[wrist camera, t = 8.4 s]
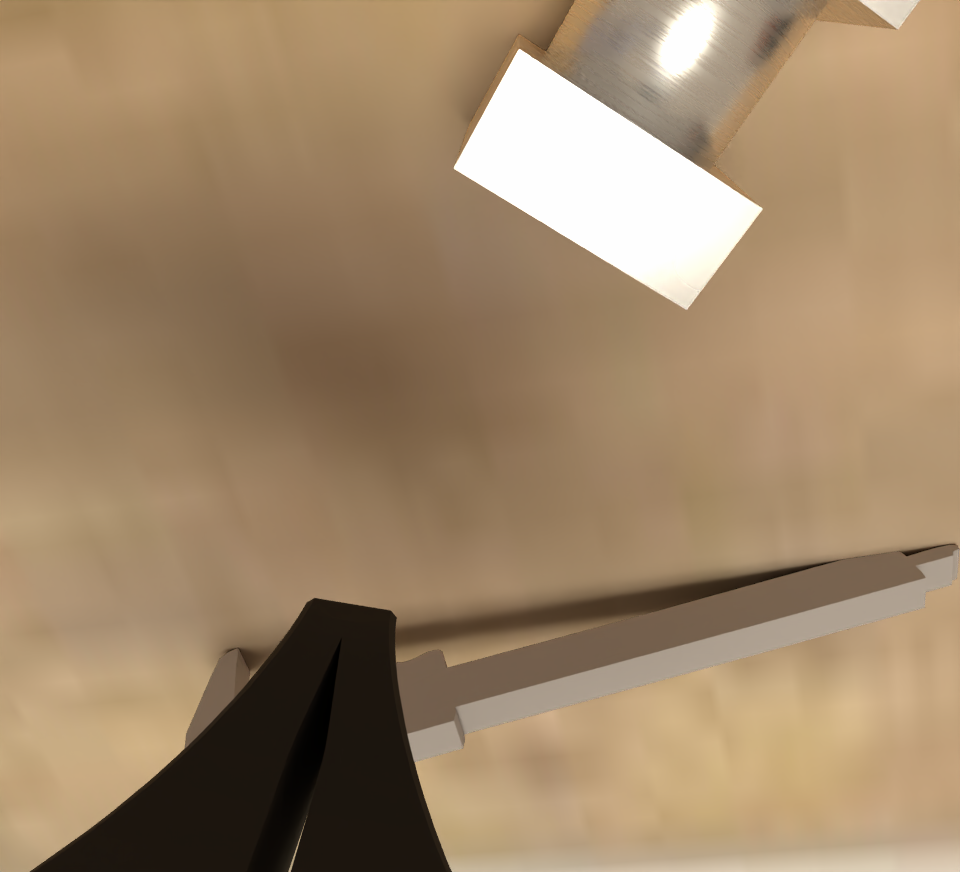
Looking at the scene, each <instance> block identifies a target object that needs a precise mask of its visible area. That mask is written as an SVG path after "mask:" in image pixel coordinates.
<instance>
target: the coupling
mask: <svg viewBox="0 0 960 872" xmlns="http://www.w3.org/2000/svg"><path fill="white" fill-rule="evenodd" d="M919 1H920V0H575V1H574V3H573V5H572V7H571V8H570V10H569V12H568V14H567V15H566V17H565V19H564V21H563V23H562V24H561V26H560V28H559V30H558V31H557V33H556V35H555V37H554V38H553V40H552V42H551V44H550V45H549V47H548V49H547V51H544V50H543V49H541V48H540V47H538V46H537V45H535V44H534V43H532V42H531V41H529V40H528V39H526V38H524V37H523V36H521V35H520V34H518V36H517V38H516V40H515V42H514V43H513V45H512V47H511V49H510V51H509V53H508V54H507V56H506V58H505V60H504V62H503V64H502V65H501V67H500V69H499V71H498V73H497V75H496V76H495V78H494V80H493V82H492V84H491V86H490V87H489V89H488V91H487V93H486V95H485V97H484V98H483V100H482V102H481V104H480V106H479V108H478V109H477V111H476V113H475V115H474V117H473V119H472V120H471V122H470V124H469V126H468V129H467V132H466V134H465V137H464V140H463V143H462V146H461V149H460V151H459V154H458V157H457V160H456V163H455V166H454V169H455V170H457V171H459V172H460V173H462V174H464V175H465V176H467V177H468V178H470V179H472V180H473V181H475V182H477V183H478V184H480V185H482V186H483V187H485V188H487V189H488V190H490V191H492V192H493V193H495V194H496V195H498V196H500V197H501V198H503V199H505V200H506V201H508V202H510V203H511V204H513V205H515V206H516V207H518V208H520V209H521V210H523V211H524V212H526V213H528V214H529V215H531V216H533V217H534V218H536V219H538V220H539V221H541V222H543V223H544V224H546V225H548V226H549V227H551V228H552V229H554V230H556V231H557V232H559V233H561V234H562V235H564V236H566V237H567V238H569V239H571V240H572V241H574V242H576V243H577V244H579V245H580V246H582V247H584V248H585V249H587V250H589V251H590V252H592V253H594V254H595V255H597V256H599V257H600V258H602V259H604V260H605V261H607V262H608V263H610V264H612V265H613V266H615V267H617V268H618V269H620V270H622V271H623V272H625V273H627V274H628V275H630V276H632V277H633V278H635V279H636V280H638V281H640V282H641V283H643V284H645V285H646V286H648V287H650V288H651V289H653V290H655V291H656V292H658V293H660V294H661V295H663V296H664V297H666V298H668V299H669V300H671V301H673V302H674V303H676V304H678V305H679V306H681V307H683V308H684V309H686V310H687V309H688V308H689V306H690V305H691V304H692V302H693V301H694V300H695V298H696V297H697V296H698V294H699V293H700V292H701V290H702V289H703V288H704V286H705V285H706V284H707V282H708V281H709V280H710V278H711V277H712V276H713V274H714V273H715V272H716V270H717V269H718V268H719V266H720V265H721V264H722V262H723V261H724V260H725V258H726V257H727V256H728V254H729V253H730V252H731V250H732V249H733V248H734V246H735V245H736V244H737V242H738V241H739V240H740V238H741V237H742V236H743V234H744V233H745V232H746V230H747V229H748V228H749V226H750V225H751V224H752V223H753V221H754V220H755V219H756V217H757V216H758V215H759V213H760V212H761V211H762V208H761V207H760V206H759V205H758V204H757V203H756V202H755V201H754V200H752V199H751V198H750V197H749V196H748V195H747V194H746V193H745V192H744V191H743V190H741V189H740V188H739V187H738V186H737V185H736V184H735V183H734V182H733V181H732V180H730V179H729V178H728V177H727V176H726V175H725V174H724V173H723V172H722V171H720V170H719V169H718V168H717V167H716V166H715V165H714V164H715V162H716V161H717V159H718V158H719V157H720V155H721V154H722V152H723V151H724V149H725V148H726V147H727V145H728V144H729V142H730V141H731V139H732V138H733V137H734V135H735V134H736V132H737V131H738V130H739V128H740V127H741V125H742V124H743V122H744V121H745V120H746V118H747V117H748V115H749V114H750V113H751V111H752V110H753V108H754V107H755V105H756V104H757V103H758V101H759V100H760V98H761V97H762V95H763V94H764V93H765V91H766V90H767V88H768V87H769V86H770V84H771V83H772V81H773V80H774V78H775V77H776V76H777V74H778V73H779V71H780V70H781V68H782V67H783V66H784V64H785V63H786V61H787V60H788V59H789V57H790V56H791V54H792V53H793V51H794V50H795V49H796V47H797V46H798V44H799V43H800V42H801V40H802V39H803V37H804V36H805V34H806V33H807V32H808V30H809V29H810V27H811V26H812V24H813V23H814V22H815V20H818V21H827V22H835V23H844V24H853V25H862V26H871V27H880V28H889V29H897V30H898V29H899V27H900V26H901V25H902V23H903V22H904V21H905V19H906V18H907V17H908V15H909V14H910V13H911V11H912V10H913V9H914V7H915V6H916V5H917V3H918V2H919Z"/></svg>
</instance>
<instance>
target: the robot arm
mask: <svg viewBox="0 0 960 872" xmlns="http://www.w3.org/2000/svg"><path fill="white" fill-rule="evenodd" d="M396 619H397V617H396V616H395V615H394V614H393V613H392V611H389V610H383V609H377V608H371V607H365V606H359V605H353V604H347V603H341V602H335V601H329V600H323V599H317V598H314V599H312V600H310V601H309V602H307V603H306V605H305V607H304V608H303V610H302V612H301V613H300V615H299V616H298V618H297V620H296V621H295V623H294V624H293V625H292V627H291V628H290V630H289V631H288V633H287V634H286V635H285V637H284V638H283V639H282V641H281V642H280V643H279V645H278V646H277V647H276V649H275V650H274V651H273V653H272V654H271V655H270V656H269V658H268V659H267V660H266V661H265V663H264V664H263V665H262V666H261V667H260V668H259V670H258V671H257V672H256V673H255V674H254V676H253V677H252V678H251V679H250V680H249V682H248V683H247V684H246V685H245V686H244V688H243V689H242V690H241V691H240V692H239V693H238V694H237V695H236V697H235V698H234V699H233V700H232V701H231V702H230V703H229V704H228V705H227V706H226V707H225V708H224V709H223V710H222V711H221V712H220V714H219V715H218V716H217V717H216V718H215V719H214V720H213V721H212V722H211V723H210V724H209V725H208V726H207V727H206V728H205V729H204V730H203V731H202V732H201V733H200V734H199V735H198V736H197V737H196V738H195V739H194V740H193V741H192V742H191V743H190V744H189V745H188V746H187V747H186V748H185V749H184V750H183V751H182V752H181V753H180V754H179V755H178V756H177V757H175V758H174V759H173V760H172V761H171V762H170V763H169V764H168V765H167V766H166V767H164V768H163V769H162V770H161V771H160V772H159V773H158V774H157V775H156V776H154V777H153V778H152V779H151V780H150V781H149V782H148V783H146V784H145V785H144V786H143V787H141V788H140V789H139V790H138V791H137V792H135V793H134V794H133V795H132V796H131V797H129V798H128V799H127V800H126V801H125V802H123V803H122V804H121V805H120V806H118V807H117V808H116V809H115V810H114V811H112V812H111V813H110V814H109V815H107V816H106V817H105V818H103V819H102V820H101V821H100V822H98V823H97V824H96V825H94V826H93V827H92V828H90V829H89V830H88V831H86V832H85V833H84V834H82V835H81V836H79V837H78V838H77V839H75V840H74V841H72V842H71V843H70V844H68V845H67V846H65V847H64V848H63V849H61V850H60V851H58V852H57V853H55V854H54V855H53V856H51V857H50V858H48V859H47V860H46V861H44V862H43V863H41V864H40V865H39V866H37V867H36V868H34V869H33V870H31V871H30V872H288V871H289V868H290V865H291V862H292V859H293V856H294V853H295V850H296V847H297V844H298V841H299V838H300V835H301V832H302V829H303V826H304V829H303V832H302V836H301V839H300V842H299V846H298V849H297V853H296V856H295V860H294V863H293V866H292V870H291V872H452V871H451V869H450V867H449V865H448V862H447V860H446V857H445V855H444V852H443V849H442V847H441V844H440V841H439V839H438V836H437V833H436V831H435V828H434V825H433V822H432V819H431V816H430V813H429V810H428V807H427V804H426V801H425V798H424V795H423V791H422V788H421V785H420V781H419V778H418V774H417V771H416V767H415V763H414V759H413V755H412V751H411V747H410V743H409V739H408V734H407V730H406V725H405V720H404V714H403V709H402V703H401V698H400V692H399V685H398V678H397V668H396V656H395V626H396ZM306 817H307V818H306ZM305 820H306V822H305ZM304 823H305V825H304Z"/></svg>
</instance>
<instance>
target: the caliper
mask: <svg viewBox="0 0 960 872" xmlns="http://www.w3.org/2000/svg"><path fill="white" fill-rule="evenodd" d="M958 557H959V548H958V545H947V546H942V547H937V548H933V549H930V550H927V551H923V552H920V553H916V554H913V555H910V556H905V555H904V554H903V553H901V552H900V551H897V552H890V553H883V554H876V555H870V556H863V557H856V558H849V559H843V560H839V561H836V562H832V563H828V564H825V565H821V566H818V567H814V568H810V569H807V570H803V571H800V572H796V573H792V574H789V575H785V576H782V577H778V578H774V579H771V580H767V581H764V582H760V583H756V584H753V585H749V586H746V587H742V588H738V589H735V590H731V591H728V592H724V593H720V594H717V595H713V596H710V597H706V598H702V599H699V600H695V601H692V602H688V603H684V604H681V605H677V606H674V607H670V608H666V609H663V610H659V611H655V612H652V613H648V614H644V615H641V616H637V617H633V618H630V619H626V620H622V621H619V622H615V623H611V624H607V625H604V626H600V627H596V628H593V629H589V630H585V631H582V632H578V633H574V634H570V635H567V636H563V637H559V638H556V639H552V640H548V641H545V642H541V643H537V644H533V645H530V646H526V647H522V648H519V649H515V650H511V651H508V652H504V653H500V654H496V655H493V656H489V657H485V658H482V659H478V660H474V661H471V662H467V663H463V664H459V665H456V666H452V667H448V668H447V665H446V662H445V659H444V656H443V653H442V651H441V650H432V651H429V652H427V653H424V654H422V655H420V656H418V657H416V658H414V659H412V660H409V661H406V662H397V663H396V668H397V678H398V685H399V692H400V698H401V703H402V709H403V714H404V720H405V725H406V730H407V734H408V739H409V743H410V747H411V751H412V755H413V759H414V762H417V761H421V760H424V759H428V758H431V757H435V756H438V755H441V754H445V753H448V752H452V751H455V750H459V749H462V748H463V746H464V742H465V737H464V734H468V733H471V732H475V731H479V730H482V729H486V728H489V727H493V726H497V725H500V724H504V723H508V722H511V721H515V720H519V719H522V718H526V717H530V716H533V715H537V714H541V713H544V712H548V711H552V710H555V709H559V708H563V707H566V706H570V705H574V704H577V703H581V702H585V701H588V700H592V699H596V698H599V697H603V696H606V695H610V694H614V693H617V692H621V691H625V690H628V689H632V688H636V687H639V686H643V685H647V684H650V683H654V682H658V681H661V680H665V679H669V678H672V677H676V676H680V675H683V674H687V673H691V672H694V671H698V670H702V669H705V668H709V667H713V666H716V665H720V664H723V663H727V662H731V661H734V660H738V659H742V658H745V657H749V656H753V655H756V654H760V653H764V652H767V651H771V650H774V649H778V648H782V647H785V646H789V645H792V644H796V643H800V642H803V641H807V640H810V639H814V638H818V637H821V636H825V635H828V634H832V633H836V632H839V631H843V630H846V629H850V628H854V627H857V626H861V625H864V624H868V623H872V622H875V621H879V620H882V619H886V618H890V617H893V616H897V615H900V614H904V613H908V612H911V611H915V610H918V609H922V608H925V594H926V592H929V591H932V590H936V589H939V588H943V587H946V586H950V585H952V580H955V579H957V572H958ZM280 642H281V641H280ZM249 676H250V671H249V669H248V667H247V665H246V663H245V661H244V659H243V657H242V655H241V652H240V650H239V648H237V649H235V650H232V651H230V652H228V653H227V654H225V655H224V656H222V657H221V658H220V659H219V661H218V663H217V665H216V667H215V669H214V671H213V673H212V676H211V678H210V680H209V682H208V685H207V687H206V689H205V691H204V694H203V696H202V698H201V701H200V703H199V705H198V708H197V710H196V712H195V715H194V717H193V719H192V722H191V724H190V726H189V728H188V731H187V733H186V741H185V748H186V747H187V746H188V745H189V744H190V743H191V742H192V741H193V740H194V739H195V738H196V737H197V736H198V735H199V734H200V733H201V732H202V731H203V730H204V729H205V728H206V727H207V726H208V725H209V724H210V723H211V722H212V721H213V720H214V719H215V718H216V717H217V716H218V715H219V714H220V712H221V711H222V710H223V709H224V708H225V707H226V706H227V705H228V704H229V703H230V702H231V701H232V700H233V699H234V698H235V697H236V695H237V694H238V693H239V692H240V691H241V690H242V689H243V688H244V686H245V685H246V684H247V683H248V682H249Z"/></svg>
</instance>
